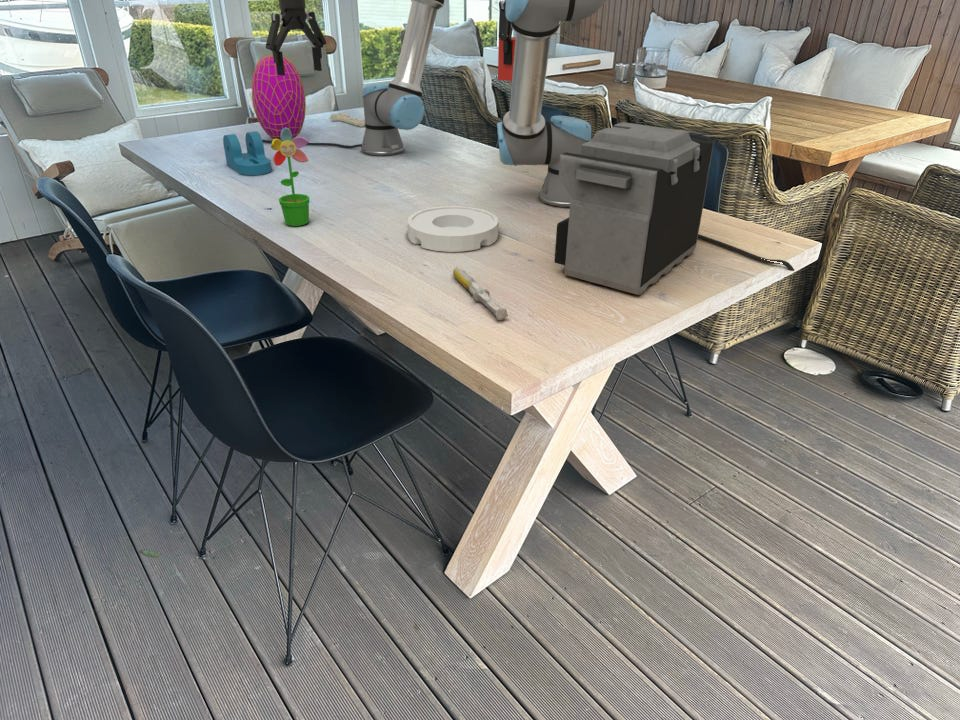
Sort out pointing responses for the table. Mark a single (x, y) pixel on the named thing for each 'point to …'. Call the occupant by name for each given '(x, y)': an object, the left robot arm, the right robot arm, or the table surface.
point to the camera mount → (246, 154)
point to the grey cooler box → (632, 205)
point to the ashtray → (452, 228)
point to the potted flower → (291, 178)
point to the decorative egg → (278, 97)
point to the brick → (503, 69)
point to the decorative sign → (347, 119)
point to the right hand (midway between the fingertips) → (513, 63)
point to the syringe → (479, 293)
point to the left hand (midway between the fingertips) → (300, 72)
